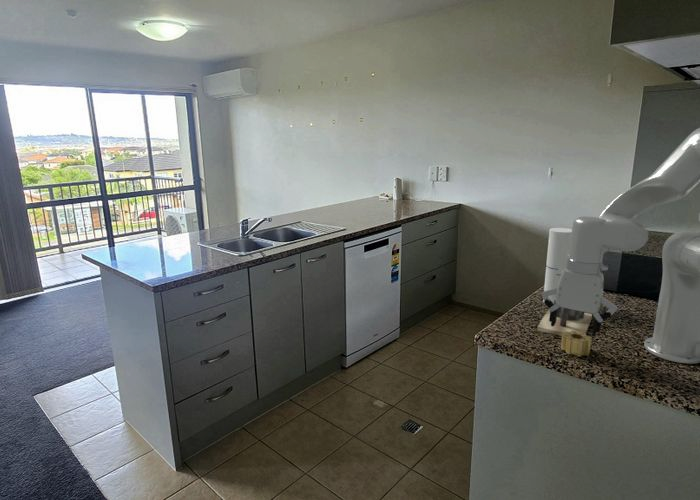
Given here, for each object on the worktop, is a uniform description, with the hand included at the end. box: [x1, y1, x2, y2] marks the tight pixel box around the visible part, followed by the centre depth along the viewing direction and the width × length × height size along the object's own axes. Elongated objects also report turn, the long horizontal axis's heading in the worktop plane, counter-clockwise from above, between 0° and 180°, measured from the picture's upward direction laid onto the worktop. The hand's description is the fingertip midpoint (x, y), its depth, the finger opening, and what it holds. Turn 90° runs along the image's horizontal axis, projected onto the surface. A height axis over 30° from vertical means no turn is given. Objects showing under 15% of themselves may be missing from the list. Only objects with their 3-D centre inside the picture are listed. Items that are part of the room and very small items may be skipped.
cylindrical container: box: [542, 227, 572, 304], centre depth 141 cm, size 7×7×25 cm
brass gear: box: [560, 331, 593, 358], centre depth 112 cm, size 7×7×4 cm
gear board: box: [536, 300, 593, 337], centre depth 127 cm, size 12×18×7 cm, turn 145°
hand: (573, 329), depth 111 cm, fingers open, 9 cm apart
